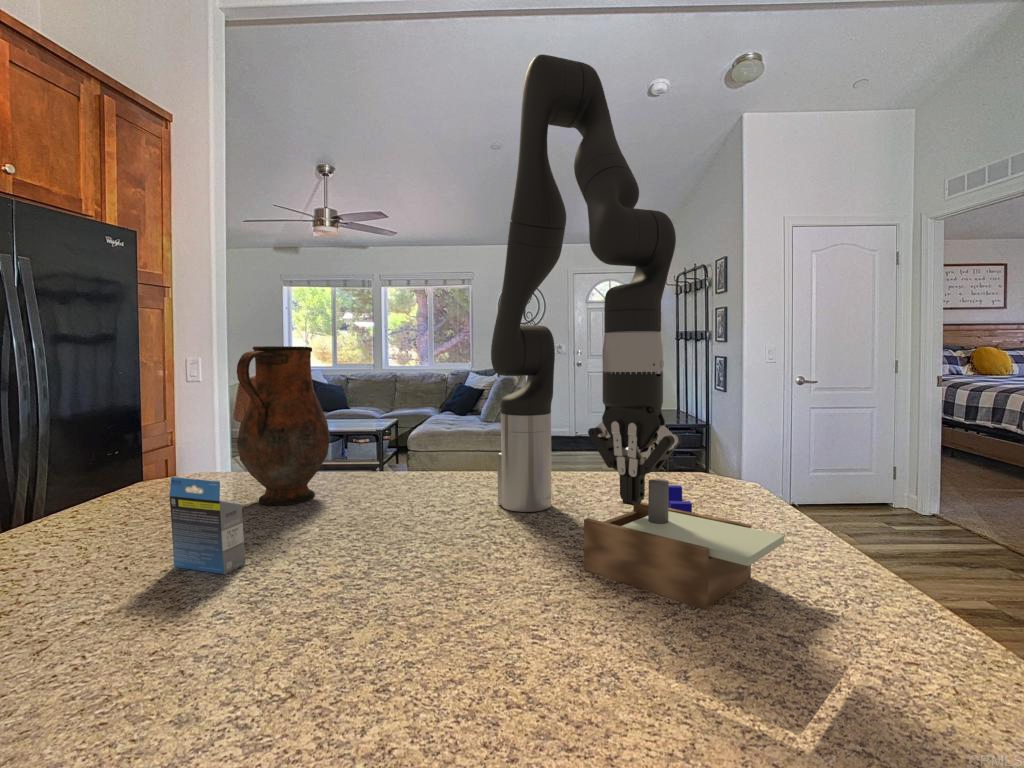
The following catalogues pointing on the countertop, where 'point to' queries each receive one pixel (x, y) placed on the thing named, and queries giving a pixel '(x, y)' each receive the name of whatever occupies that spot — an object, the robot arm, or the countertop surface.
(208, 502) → the label tape box
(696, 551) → the walnut box
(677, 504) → the blue curved stepped block
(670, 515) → the cover plate
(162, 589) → the countertop surface
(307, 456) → the pitcher
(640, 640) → the countertop surface
